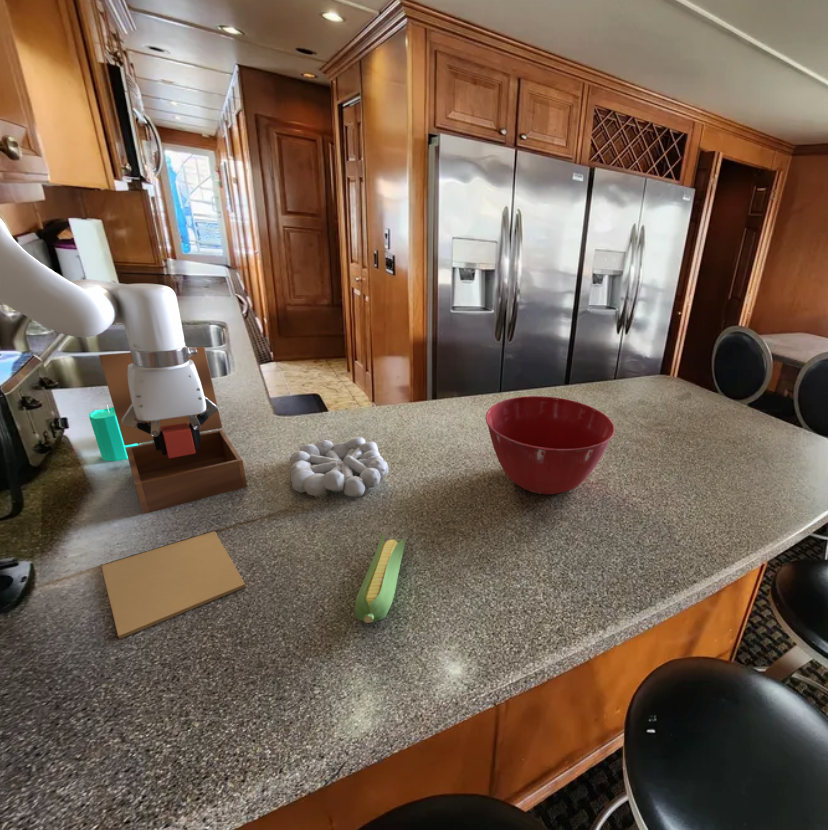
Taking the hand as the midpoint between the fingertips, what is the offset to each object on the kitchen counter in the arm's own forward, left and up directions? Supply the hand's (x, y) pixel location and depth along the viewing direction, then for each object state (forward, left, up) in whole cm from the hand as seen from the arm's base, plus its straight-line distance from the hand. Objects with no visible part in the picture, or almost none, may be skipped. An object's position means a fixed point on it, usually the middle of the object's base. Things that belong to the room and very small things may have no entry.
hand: (179, 448), depth 87 cm
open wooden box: (0, 0, -8) cm, 8 cm away
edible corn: (+50, -9, -8) cm, 52 cm away
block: (0, 0, -1) cm, 1 cm away
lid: (-8, +5, +8) cm, 12 cm away
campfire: (+23, +14, -8) cm, 29 cm away
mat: (+20, -19, -8) cm, 29 cm away
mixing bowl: (+64, +32, -8) cm, 72 cm away
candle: (-21, +2, -8) cm, 22 cm away
